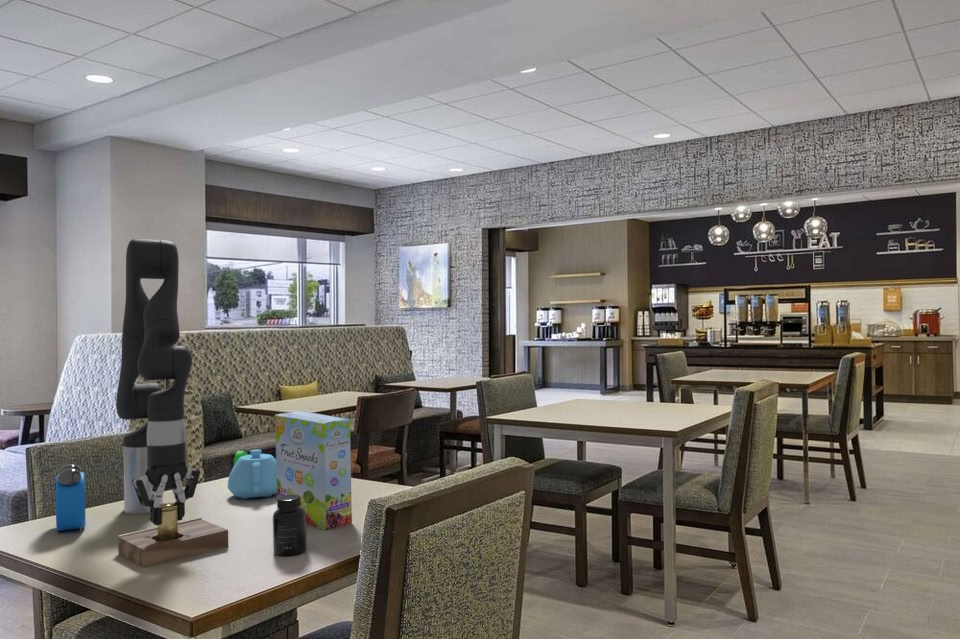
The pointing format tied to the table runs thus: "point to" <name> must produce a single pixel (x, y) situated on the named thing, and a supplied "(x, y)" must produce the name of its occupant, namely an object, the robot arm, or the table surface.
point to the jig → (172, 543)
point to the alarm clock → (70, 498)
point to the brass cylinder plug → (168, 522)
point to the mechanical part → (239, 455)
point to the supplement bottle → (289, 527)
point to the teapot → (253, 476)
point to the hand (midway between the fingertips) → (167, 521)
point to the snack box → (315, 465)
